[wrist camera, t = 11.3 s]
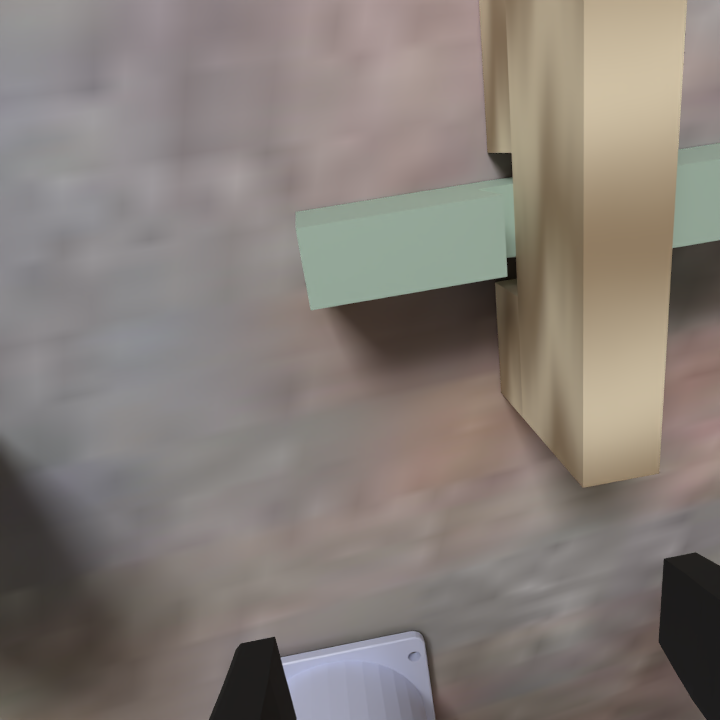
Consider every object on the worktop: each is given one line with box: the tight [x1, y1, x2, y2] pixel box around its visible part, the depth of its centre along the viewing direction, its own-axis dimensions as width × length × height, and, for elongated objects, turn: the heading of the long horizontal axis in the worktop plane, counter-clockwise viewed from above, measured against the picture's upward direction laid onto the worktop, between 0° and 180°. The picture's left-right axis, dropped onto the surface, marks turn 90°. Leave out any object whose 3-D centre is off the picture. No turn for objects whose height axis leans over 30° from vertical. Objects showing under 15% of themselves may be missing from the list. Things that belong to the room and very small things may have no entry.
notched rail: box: [296, 143, 720, 310], centre depth 16 cm, size 2×14×4 cm, turn 98°
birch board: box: [479, 0, 687, 488], centre depth 15 cm, size 12×2×6 cm, turn 8°
